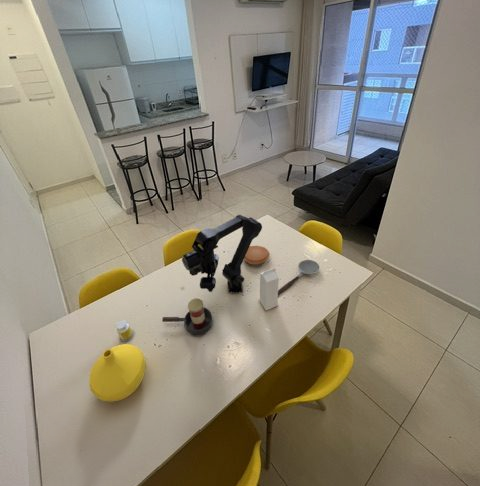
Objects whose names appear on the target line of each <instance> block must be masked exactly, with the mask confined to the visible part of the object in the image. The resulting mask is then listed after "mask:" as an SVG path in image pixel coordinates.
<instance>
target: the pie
mask: <svg viewBox="0 0 480 486" xmlns="http://www.w3.org/2000/svg"><path fill="white" fill-rule="evenodd" d="M269 258H270V251H269V250H268V249H267V248H266V247H264V246H261V245H250V246H249V249H248V251H247V253H246V255H245V258H244V260H243V261H245V262H246V263H247V264H248V265H250V266H254V267H255V266H256V267H257V266H261V265H263V264H264V263H266V262H267V261H268V260H269Z"/></svg>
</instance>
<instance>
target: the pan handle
mask: <svg viewBox="0 0 480 486" xmlns="http://www.w3.org/2000/svg"><path fill="white" fill-rule="evenodd" d="M184 318H185V317H180V316H163V317H162V323H173V322H174V323H179V322H184Z"/></svg>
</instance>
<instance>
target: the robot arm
mask: <svg viewBox="0 0 480 486" xmlns="http://www.w3.org/2000/svg"><path fill="white" fill-rule="evenodd" d="M239 229H241V231H242V236H241V239H240V240H239V243H238V245H237V248H236V250H235V252H234V254H233V256H232V259H231V261H230V262H228V263H225V264H224V266H223V268H222V269H221V270H222V273H221V274H222V276H223V277H224V278H225V279H226V280H227V289H228V293H231V294H232V293H243V283H244V281H245V277H244V276H243V275H242V264H243V262H244V261H245V260H244V258H245V255H246V253H247V251H248V249H249V246H251V244H252V242H253V240H254V239H255V238H258V237H259V236H260V233H261V231H262V230H263V225H262V223H261V222H259V221H258V220H256V219H255V218H254V217H246V216H245V215H242V214H237V215H236V216H235V217H233V218H232V219H230V220H228V221H226V222H224V223H222V224H220V225H218V226H216V227H214V228H206V229H203V230H201V231H198V233H197V234H196V236H195V239H194V240H193V243H192V245H191V248H192V249H193V250H191V251H190V252H188V253H187V252H186V253H185V254H183V255H182V257H181V262H182V265H183V267H184V268H185V270H186V271H188V272H189V275H191V276H192V277H193V276H197V275H198V274H199V273H200V274H202V275H203V274H206V276H202V277H200V280H199V281H200V282H199V288H200V289H201V290H207V291H208V292H209V293H212V292H213V290H214V289H216V285H217V280H216V277H215V274H216V271H217V269H218V265H219V259H220V258H219V255H218V254H217V253H215V251H214V250H215V249H217V248H219V246H218V243H219V241H220V240H221V239H223V238H224V237H226V236H228V235H230V234H232V233H233V232H235V231H238V230H239Z"/></svg>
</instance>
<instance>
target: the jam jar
mask: <svg viewBox="0 0 480 486" xmlns="http://www.w3.org/2000/svg"><path fill="white" fill-rule="evenodd" d="M203 307H204V301H203V300H202V299H201V298H198V297H197V298H193V299H190V301H188V303H187V309H188V312H190V316H191V320H192V324H193V327H194V328H196V329H201V328H203V327H204V326H205V325H206V318H205V313H204V308H205V307H204V308H203Z"/></svg>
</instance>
